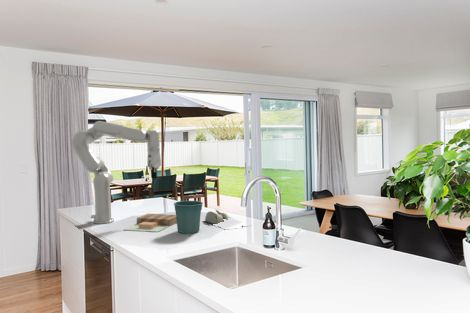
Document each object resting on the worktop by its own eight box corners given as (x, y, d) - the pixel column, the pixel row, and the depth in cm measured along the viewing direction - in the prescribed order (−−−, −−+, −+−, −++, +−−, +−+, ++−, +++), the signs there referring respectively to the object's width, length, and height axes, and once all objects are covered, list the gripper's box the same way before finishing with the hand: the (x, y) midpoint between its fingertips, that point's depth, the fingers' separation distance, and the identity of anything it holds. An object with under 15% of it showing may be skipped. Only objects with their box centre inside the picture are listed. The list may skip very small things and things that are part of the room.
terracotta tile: (143, 221, 228) (143, 225, 228) (138, 224, 222) (138, 228, 222) (157, 222, 225) (157, 226, 225) (152, 224, 220) (152, 228, 220)
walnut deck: (136, 224, 234) (136, 217, 233) (148, 219, 247) (148, 213, 247) (169, 226, 228) (169, 219, 227) (179, 221, 241) (179, 215, 241)
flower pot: (209, 229, 217) (208, 201, 217) (191, 236, 203) (191, 206, 203) (186, 226, 226) (185, 199, 225) (167, 232, 212) (167, 204, 211)
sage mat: (123, 230, 219) (123, 229, 219) (136, 224, 233) (136, 224, 233) (157, 232, 213) (157, 231, 213) (169, 226, 227) (169, 225, 227)
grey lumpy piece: (198, 209, 243) (224, 206, 254) (198, 221, 243) (224, 217, 254) (226, 217, 216) (254, 213, 227) (226, 231, 216) (254, 226, 228)
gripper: (153, 150, 235) (153, 179, 236) (164, 149, 250) (164, 177, 251) (142, 150, 237) (143, 179, 238) (153, 149, 252) (154, 177, 253)
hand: (154, 178), depth 244 cm, fingers closed
